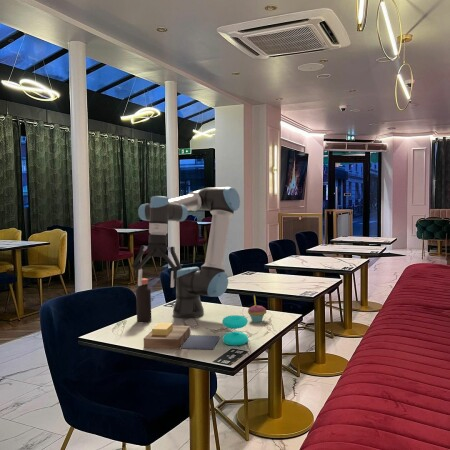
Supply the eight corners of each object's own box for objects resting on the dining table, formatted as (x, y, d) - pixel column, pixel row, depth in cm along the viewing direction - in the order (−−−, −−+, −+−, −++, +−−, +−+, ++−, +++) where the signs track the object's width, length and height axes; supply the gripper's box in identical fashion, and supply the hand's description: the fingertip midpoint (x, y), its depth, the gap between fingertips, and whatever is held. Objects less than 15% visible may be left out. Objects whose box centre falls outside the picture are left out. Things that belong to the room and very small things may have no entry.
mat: (190, 336, 193) (190, 335, 192) (220, 337, 191) (220, 335, 190) (181, 348, 177) (180, 347, 177) (213, 349, 175) (212, 348, 175)
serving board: (157, 334, 196) (157, 325, 196) (190, 335, 194) (189, 326, 193) (143, 348, 178) (143, 338, 178) (179, 349, 176) (178, 339, 176)
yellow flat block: (159, 328, 191) (158, 322, 191) (173, 328, 190) (172, 323, 190) (152, 334, 182) (152, 329, 182) (166, 335, 181) (166, 329, 181)
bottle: (153, 319, 220) (152, 278, 219) (147, 323, 213) (146, 280, 212) (140, 318, 222) (139, 277, 221) (134, 322, 215) (132, 280, 214)
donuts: (242, 322, 176) (218, 320, 180) (243, 347, 177) (219, 345, 180) (250, 315, 185) (227, 313, 189) (251, 339, 186) (228, 337, 190)
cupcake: (244, 320, 215) (243, 295, 214) (258, 317, 220) (257, 292, 219) (256, 324, 208) (255, 298, 207) (270, 321, 213) (269, 295, 212)
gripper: (125, 232, 186) (123, 285, 185) (186, 235, 183) (184, 288, 182) (131, 233, 193) (129, 284, 193) (190, 235, 190) (188, 287, 189)
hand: (156, 286), depth 187 cm, fingers open, 13 cm apart
